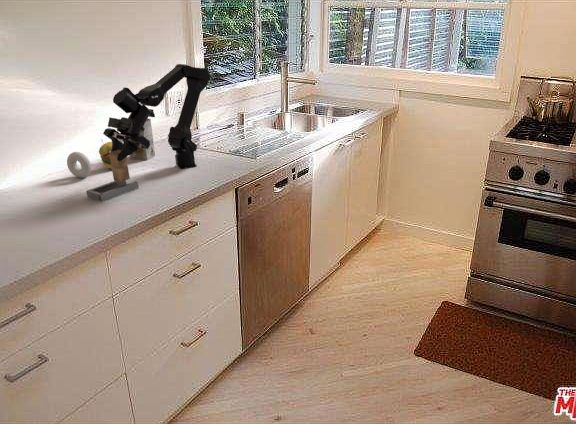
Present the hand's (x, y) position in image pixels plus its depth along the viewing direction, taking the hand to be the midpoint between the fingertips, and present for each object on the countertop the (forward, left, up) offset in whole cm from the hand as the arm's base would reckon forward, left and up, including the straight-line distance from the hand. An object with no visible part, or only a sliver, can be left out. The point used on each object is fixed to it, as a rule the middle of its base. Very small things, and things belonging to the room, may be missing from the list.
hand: (114, 159), depth 169 cm
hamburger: (-2, -28, -11) cm, 30 cm away
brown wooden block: (-1, -1, -8) cm, 8 cm away
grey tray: (+3, +1, -11) cm, 11 cm away
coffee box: (-16, -36, -11) cm, 41 cm away
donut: (+10, -23, -11) cm, 27 cm away
